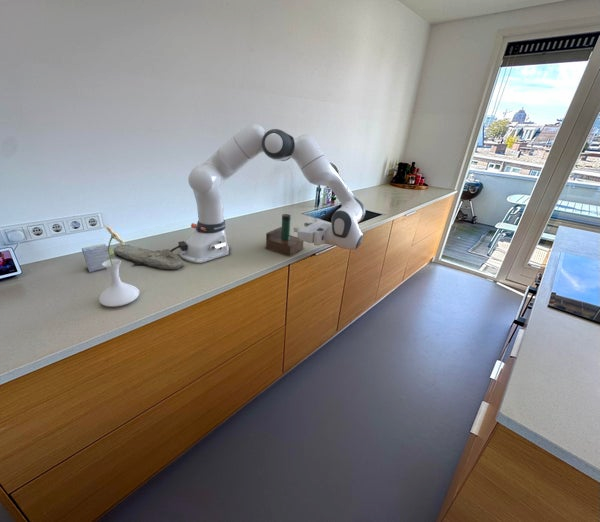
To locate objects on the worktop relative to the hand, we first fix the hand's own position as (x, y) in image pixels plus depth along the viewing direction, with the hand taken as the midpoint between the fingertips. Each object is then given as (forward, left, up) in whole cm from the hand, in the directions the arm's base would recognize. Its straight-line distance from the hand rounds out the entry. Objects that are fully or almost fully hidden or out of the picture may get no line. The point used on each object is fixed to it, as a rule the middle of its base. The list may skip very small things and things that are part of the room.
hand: (299, 226), depth 133 cm
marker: (0, +8, -8) cm, 11 cm away
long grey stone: (-48, +45, -13) cm, 67 cm away
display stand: (0, +8, -13) cm, 15 cm away
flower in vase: (-70, +26, -13) cm, 76 cm away
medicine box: (-63, +53, -13) cm, 83 cm away
